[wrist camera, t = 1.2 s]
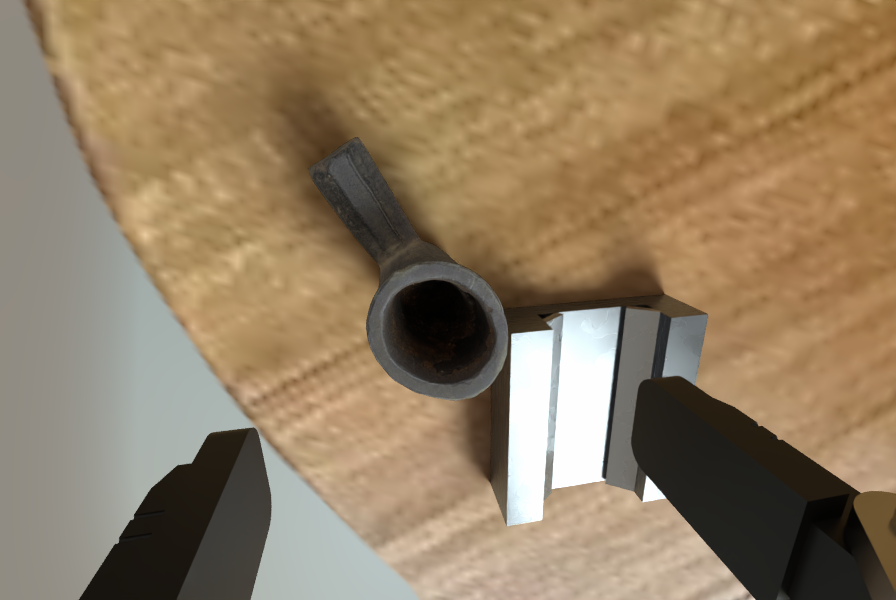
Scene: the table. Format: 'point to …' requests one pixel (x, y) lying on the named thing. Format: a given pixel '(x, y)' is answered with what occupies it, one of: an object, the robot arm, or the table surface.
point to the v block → (581, 394)
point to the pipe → (415, 289)
